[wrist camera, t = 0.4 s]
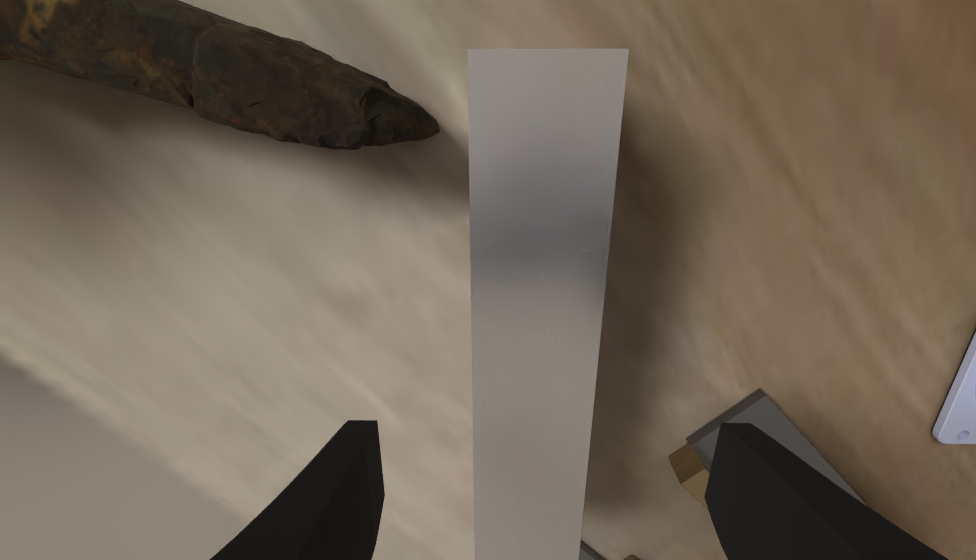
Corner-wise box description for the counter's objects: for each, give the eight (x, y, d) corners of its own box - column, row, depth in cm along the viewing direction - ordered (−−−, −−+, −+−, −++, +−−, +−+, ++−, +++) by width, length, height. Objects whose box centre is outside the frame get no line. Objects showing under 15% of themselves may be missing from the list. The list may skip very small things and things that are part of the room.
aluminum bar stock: (580, 57, 16) (628, 49, 11) (555, 445, 22) (577, 567, 17) (474, 58, 16) (467, 48, 11) (478, 445, 22) (474, 567, 17)
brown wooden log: (-151, 7, 16) (-388, -17, 12) (-171, -141, 14) (-453, -232, 10) (418, 199, 18) (396, 239, 14) (451, 89, 17) (437, 96, 12)
